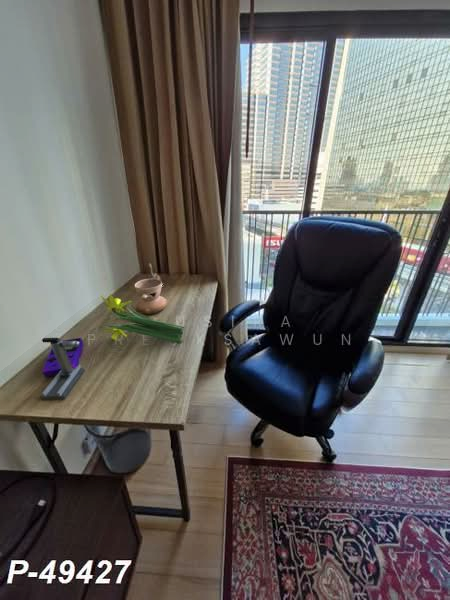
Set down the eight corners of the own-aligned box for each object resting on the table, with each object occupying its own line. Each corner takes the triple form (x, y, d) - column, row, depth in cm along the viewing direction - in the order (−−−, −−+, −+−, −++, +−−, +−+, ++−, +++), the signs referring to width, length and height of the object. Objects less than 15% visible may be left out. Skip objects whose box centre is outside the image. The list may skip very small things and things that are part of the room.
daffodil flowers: (174, 358, 92) (79, 334, 90) (179, 353, 106) (97, 332, 104) (186, 313, 93) (93, 289, 91) (189, 314, 108) (108, 293, 106)
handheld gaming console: (40, 371, 81) (53, 340, 93) (46, 382, 84) (58, 351, 96) (72, 365, 83) (81, 336, 95) (77, 376, 86) (85, 346, 98)
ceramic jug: (162, 318, 116) (158, 290, 109) (131, 318, 116) (125, 290, 110) (171, 301, 132) (168, 275, 125) (144, 300, 132) (140, 275, 126)
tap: (54, 377, 81) (39, 341, 74) (60, 370, 83) (45, 335, 77) (87, 376, 81) (74, 341, 74) (91, 370, 83) (79, 335, 77)
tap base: (41, 400, 74) (38, 393, 73) (64, 371, 85) (61, 365, 84) (65, 399, 74) (62, 393, 73) (84, 371, 85) (82, 365, 84)
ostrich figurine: (159, 296, 137) (154, 265, 129) (147, 296, 138) (142, 264, 130) (170, 284, 152) (166, 255, 143) (159, 284, 153) (155, 255, 144)
